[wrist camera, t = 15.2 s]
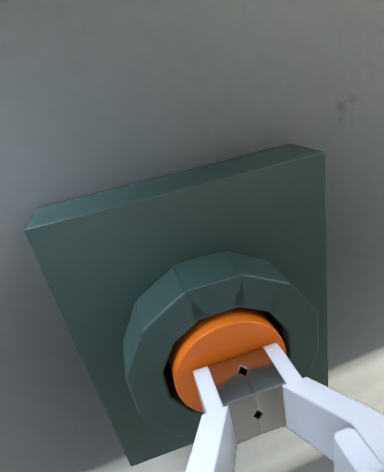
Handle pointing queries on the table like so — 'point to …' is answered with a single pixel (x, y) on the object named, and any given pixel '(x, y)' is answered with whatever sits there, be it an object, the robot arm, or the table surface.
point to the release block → (186, 277)
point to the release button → (217, 346)
